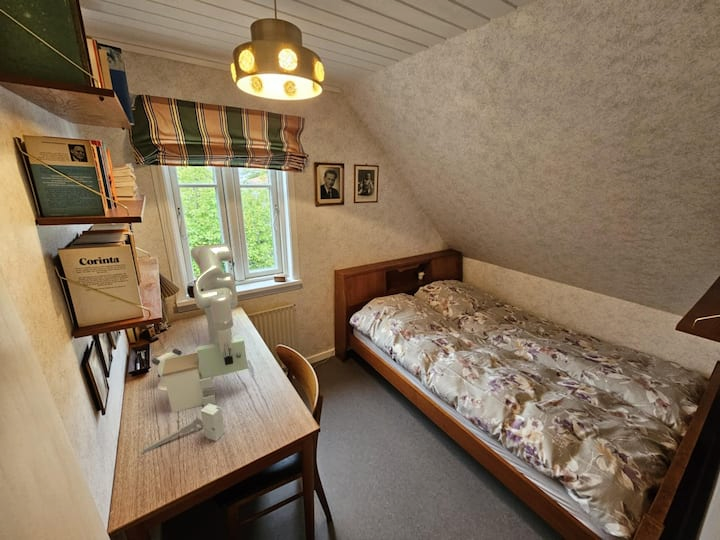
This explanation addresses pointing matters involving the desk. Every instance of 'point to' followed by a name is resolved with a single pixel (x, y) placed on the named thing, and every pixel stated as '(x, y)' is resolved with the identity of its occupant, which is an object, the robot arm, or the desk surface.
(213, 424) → the skincare box
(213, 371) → the door
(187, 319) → the desk surface
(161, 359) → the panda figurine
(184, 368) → the cabinet
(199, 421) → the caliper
